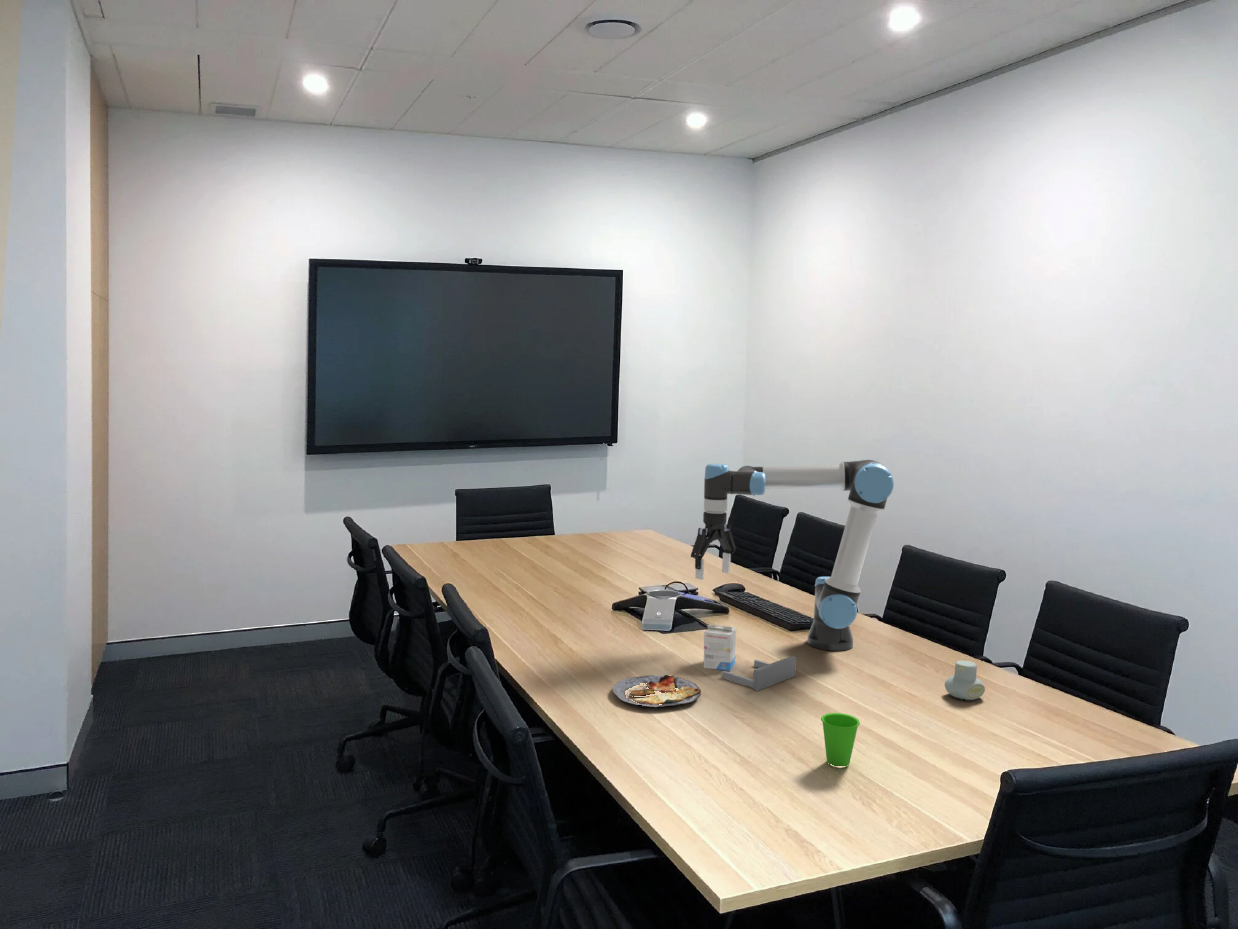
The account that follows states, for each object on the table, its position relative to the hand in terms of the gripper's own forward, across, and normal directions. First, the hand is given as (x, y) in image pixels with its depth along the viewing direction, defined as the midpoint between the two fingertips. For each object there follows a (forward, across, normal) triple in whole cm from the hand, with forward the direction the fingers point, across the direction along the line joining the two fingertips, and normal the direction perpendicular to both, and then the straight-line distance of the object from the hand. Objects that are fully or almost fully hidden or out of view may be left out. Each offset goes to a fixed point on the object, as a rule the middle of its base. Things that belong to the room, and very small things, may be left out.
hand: (712, 575), depth 312 cm
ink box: (+25, +11, +13) cm, 30 cm away
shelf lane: (+25, +11, +27) cm, 38 cm away
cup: (+25, +46, +78) cm, 93 cm away
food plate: (+25, +45, +18) cm, 54 cm away
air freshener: (+25, -22, +77) cm, 84 cm away
